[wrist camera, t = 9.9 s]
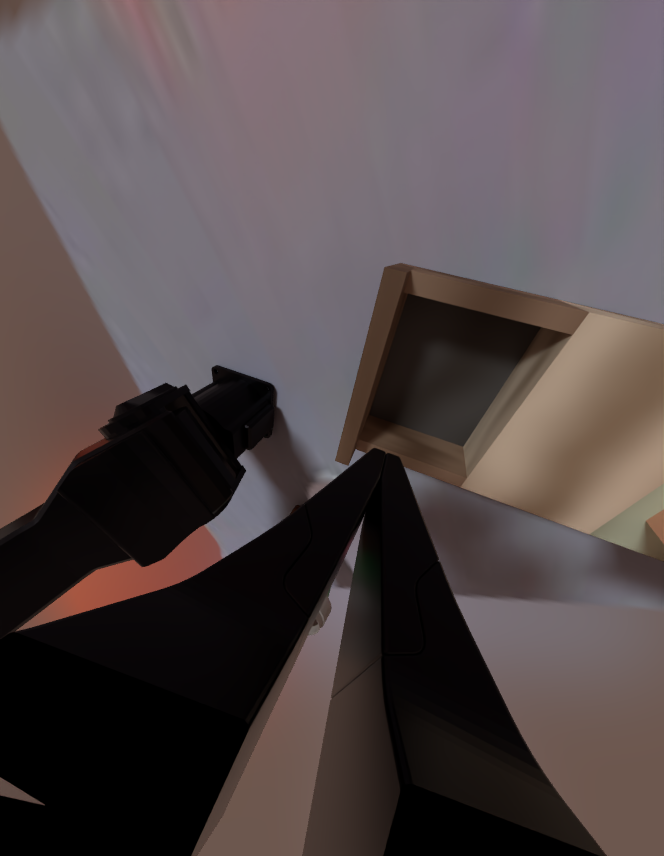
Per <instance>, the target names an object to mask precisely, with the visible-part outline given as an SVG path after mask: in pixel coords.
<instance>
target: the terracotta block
mask: <svg viewBox="0 0 664 856" xmlns="http://www.w3.org/2000/svg"><path fill="white" fill-rule="evenodd" d="M646 522H647V523H648V524H649V526H650V527H651V528H652V530H653V531H654V532H655V533H656V535H657V536H658V537H659V539H660V540H661V541H662V542H663V544H664V510H662V511H660V512H659V513H657V514H656V515H654V516H652V517H651V518H649V519H648V520H646Z"/></svg>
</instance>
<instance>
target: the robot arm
mask: <svg viewBox="0 0 664 856" xmlns="http://www.w3.org/2000/svg"><path fill="white" fill-rule="evenodd" d="M212 377H213V383H211V384H209V385H207V386H206V387H204V388H202V389H200V390H199V391H197V392H195V393H193V394H191V393H190V389H189V388H188V387H187V385H184V386H182V387H180V388H177V387H173V386H171V385H170V384H168V383H165V384H163V385H160V386H158V387H156V388H154V389H152V390H150V391H148V392H146V393H143V394H141V395H139V396H137V397H135V398H132V399H130V400H128V401H126V402H124V403H122V404H120V405H117V406H116V409H115V413H114V417H113V418H111V419H110V420H108V422H109V423H108V424H107V425H105V426H103V427H101V428H100V429H98V430H99V431H100V432H101V434H102V435H103V436H104V437H105V438H104V439H102V440H100V441H98V442H97V443H95V444H93V445H91V446H89V447H87V448H85V449H84V450H82V451H80V452H79V453H78V454H77V455H76V456H75V458H74V459H73V461H72V462H71V464H70V466H69V467H68V468H67V470H66V471H65V473H64V475H63V476H62V477H61V479H60V480H59V482H58V484H57V485H56V487H55V488H54V490H53V491H52V493H51V494H50V496H49V497H48V499H47V500H46V502H45V503H43V504H42V505H40V506H38V507H37V508H35V509H33V510H32V511H30V512H28V513H27V514H25V515H23V516H21V517H20V518H18V519H16V520H15V521H13V522H11V523H10V524H8V525H6V526H4V527H3V528H1V529H0V856H197V855H198V854H199V852H200V850H201V849H202V847H203V846H204V844H205V843H206V841H207V840H208V838H209V836H210V835H211V833H212V831H213V830H214V829H215V827H216V826H217V824H218V822H219V821H220V819H221V818H222V816H223V814H224V812H225V810H226V807H227V805H228V803H229V801H230V799H231V797H232V795H233V793H234V791H235V788H236V786H237V784H238V782H239V780H240V778H241V776H242V774H243V771H244V769H245V767H246V765H247V763H248V761H249V759H250V757H251V755H252V752H253V750H254V748H255V746H256V744H257V742H258V740H259V738H260V736H261V733H262V731H263V729H264V727H265V725H266V723H267V721H268V719H269V716H270V714H271V712H272V710H273V708H274V706H275V704H276V702H277V700H278V697H279V695H280V693H281V691H282V689H283V687H284V685H285V683H286V681H287V678H288V676H289V674H290V672H291V670H292V668H293V666H294V664H295V662H296V659H297V657H298V655H299V653H300V651H301V649H302V647H303V644H304V642H305V640H306V638H307V636H308V634H309V632H310V630H311V628H312V626H313V623H314V621H315V619H316V617H317V615H318V613H319V611H320V609H321V607H322V604H323V602H324V600H325V598H326V596H327V594H328V592H329V590H330V588H331V585H332V583H333V581H334V579H335V577H336V575H337V573H338V571H339V568H340V566H341V564H342V562H343V560H344V558H345V556H346V554H347V551H348V549H349V547H350V545H351V543H352V541H353V539H354V537H355V535H356V533H357V530H358V528H359V526H360V524H361V522H362V519H363V517H364V520H363V524H362V529H361V535H360V540H359V546H358V551H357V557H356V562H355V568H354V573H353V579H352V584H351V590H350V595H349V601H348V607H347V612H346V618H345V623H344V629H343V634H342V640H341V645H340V651H339V657H338V662H337V667H336V673H335V678H334V684H333V689H332V695H331V698H332V699H331V701H330V706H329V712H328V717H327V722H326V728H325V734H324V739H323V744H322V750H321V755H320V761H319V767H318V772H317V777H316V783H315V789H314V795H313V800H312V805H311V811H310V816H309V822H308V827H307V833H306V838H305V844H304V849H303V855H302V856H607V855H606V854H605V853H604V852H603V850H602V849H601V848H600V846H599V845H598V844H597V843H596V841H595V840H594V839H593V837H592V836H591V835H590V834H589V832H588V831H587V830H586V828H585V827H584V826H583V825H582V823H581V822H580V821H579V819H578V818H577V817H576V816H575V814H574V813H573V812H572V810H571V809H570V808H569V807H568V806H567V804H566V803H565V801H564V800H563V799H562V797H561V796H560V795H559V793H558V792H557V791H556V789H555V788H554V787H553V785H552V784H551V782H550V781H549V779H548V778H547V777H546V775H545V774H544V772H543V770H542V769H541V767H540V766H539V764H538V763H537V761H536V759H535V758H534V756H533V755H532V753H531V751H530V749H529V748H528V746H527V744H526V742H525V741H524V739H523V737H522V735H521V734H520V732H519V730H518V728H517V726H516V724H515V722H514V720H513V718H512V716H511V714H510V712H509V710H508V708H507V706H506V704H505V702H504V700H503V698H502V696H501V694H500V692H499V689H498V687H497V686H496V684H495V681H494V679H493V677H492V675H491V673H490V671H489V669H488V667H487V665H486V663H485V661H484V659H483V657H482V655H481V653H480V651H479V649H478V647H477V645H476V642H475V641H474V638H473V636H472V634H471V632H470V630H469V628H468V626H467V624H466V621H465V619H464V617H463V615H462V613H461V611H460V609H459V606H458V604H457V602H456V600H455V597H454V595H453V592H452V590H451V588H450V585H449V583H448V580H447V578H446V575H445V573H444V570H443V567H442V565H441V562H440V561H438V560H439V557H438V555H437V552H436V550H435V547H434V544H433V542H432V539H431V537H430V534H429V531H428V529H427V526H426V524H425V521H424V518H423V516H422V513H421V511H420V508H419V505H418V503H417V500H416V498H415V495H414V492H413V490H412V487H411V485H410V482H409V479H408V477H407V474H406V472H405V469H404V466H403V464H402V461H401V459H400V457H399V456H396V455H394V454H391V453H387V454H386V452H385V451H383V450H380V449H377V448H372V449H371V450H370V451H369V452H367V453H366V454H365V455H364V456H362V457H361V458H360V459H359V460H357V461H356V462H355V463H354V464H353V465H351V466H350V467H349V468H348V469H346V470H345V471H344V472H343V473H341V474H340V475H339V476H338V477H336V478H335V479H334V480H333V481H331V482H330V483H329V484H328V485H327V486H325V487H324V488H323V489H322V490H320V491H319V492H318V493H317V494H315V495H314V496H313V497H312V498H310V499H309V500H308V501H307V502H305V505H302V506H300V507H299V508H298V509H297V510H295V511H294V512H293V513H292V514H290V515H289V516H288V517H286V518H285V519H284V520H282V521H281V522H280V523H278V524H277V525H275V526H274V527H272V528H271V529H269V530H268V531H266V532H265V533H263V534H262V535H260V536H259V537H257V538H255V539H254V540H252V541H251V542H249V543H247V544H246V545H244V546H243V547H241V548H239V549H238V550H236V551H234V552H233V553H231V554H230V555H228V556H226V557H225V558H223V559H222V560H220V561H218V562H217V563H215V564H213V565H212V566H210V567H209V568H207V569H205V570H204V571H202V572H200V573H198V574H197V575H195V576H193V577H191V578H189V579H187V580H184V581H182V582H180V583H178V584H175V585H172V586H170V587H167V588H164V589H161V590H157V591H154V592H150V593H147V594H144V595H140V596H137V597H134V598H130V599H127V600H124V601H120V602H117V603H113V604H110V605H107V606H104V607H100V608H96V609H93V610H90V611H86V612H83V613H79V614H76V615H73V616H69V617H66V618H63V619H59V620H56V621H52V622H49V623H46V624H42V625H39V626H35V627H32V628H28V629H24V630H20V631H16V630H17V629H19V628H20V627H21V626H23V625H24V624H25V623H27V622H28V621H29V620H31V619H32V618H33V617H34V616H36V615H37V614H38V613H40V612H41V611H42V610H44V609H45V608H46V607H47V606H49V605H50V604H51V603H53V602H54V601H55V600H57V599H58V598H59V597H61V596H62V595H63V594H64V593H66V592H67V591H68V590H70V589H71V588H72V587H74V586H75V585H76V584H77V583H79V582H80V581H81V580H82V579H84V578H85V577H87V576H88V575H90V574H91V573H92V572H94V571H95V570H97V569H101V568H104V567H108V566H111V565H115V564H118V563H122V562H126V561H130V560H135V561H136V562H137V563H138V564H139V565H140V566H142V567H145V566H149V565H151V564H153V563H155V562H158V561H160V560H162V559H164V558H165V557H166V556H167V555H168V554H169V553H170V552H172V550H174V549H175V547H177V546H178V545H179V544H180V543H181V542H182V541H183V540H184V539H185V538H186V537H188V536H189V535H190V534H191V533H192V532H194V531H195V530H196V529H198V528H199V527H201V526H203V525H205V524H207V523H208V522H210V521H211V520H213V519H214V518H215V517H216V516H218V515H219V514H220V513H221V512H222V511H223V510H224V509H225V508H226V506H227V505H228V503H229V502H230V500H231V498H232V496H233V494H234V493H235V491H236V489H237V487H238V485H239V483H240V481H241V479H242V478H243V476H244V474H245V472H246V470H245V468H244V467H243V466H241V464H240V463H239V461H238V460H237V458H238V457H239V456H240V455H241V454H242V453H243V452H244V451H245V450H246V449H247V450H251V449H253V448H254V447H255V446H256V445H257V443H258V442H259V441H260V440H261V439H262V438H263V437H265V438H269V437H270V436H271V435H272V428H273V424H274V406H273V390H274V389H273V386H272V384H270V383H268V382H265V381H262V380H260V379H257V378H254V377H251V376H248V375H245V374H242V373H239V372H236V371H233V370H230V369H227V368H224V367H221V366H218V365H216V366H214V367H212ZM267 387H268V388H269V390H268V389H267Z"/></svg>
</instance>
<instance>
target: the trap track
mask: <svg viewBox="0 0 664 856" xmlns="http://www.w3.org/2000/svg"><path fill="white" fill-rule="evenodd" d="M372 448H377V449H380V450H383V451H385V452H386V454H387V453H391V454H394V455H396V456H399V457H400V459H401V461H402V464H403V466H404V467H406V468H409V469H412V470H414V471H417V472H420V473H423V474H425V475H428V476H431V477H434V478H436V479H439V480H442V481H445V482H447V483H450V484H453V485H455V486H458V487H461V488H464V489H466V490H469V491H472V492H475V493H477V494H480V495H483V496H486V497H488V498H491V499H494V500H496V501H499V502H502V503H505V504H507V505H510V506H513V507H516V508H518V509H521V510H524V511H527V512H529V513H532V514H535V515H538V516H540V517H543V518H546V519H548V520H551V521H554V522H557V523H559V524H562V525H565V526H568V527H570V528H573V529H576V530H579V531H581V532H584V533H587V534H590V535H592V536H595V537H598V538H600V539H603V540H606V541H609V542H611V543H614V544H617V545H620V546H622V547H625V548H628V549H631V550H633V551H636V552H639V553H642V554H644V555H647V556H650V557H652V558H655V559H658V560H661V561H663V562H664V544H663V542H662V541H661V540H660V539H659V537H658V536H657V535H656V533H655V532H654V531H653V530H652V528H651V527H650V526H649V524H648V523H647V522H646V520H648V519H649V518H651V517H652V516H654V515H656V514H657V513H659V512H660V511H662V510H664V324H660V323H656V322H652V321H648V320H643V319H639V318H635V317H630V316H626V315H622V314H617V313H613V312H609V311H605V310H600V309H596V308H592V307H587V306H583V305H579V304H574V303H570V302H566V301H562V300H557V299H553V298H549V297H544V296H540V295H536V294H531V293H527V292H523V291H519V290H514V289H510V288H506V287H501V286H497V285H493V284H488V283H484V282H480V281H476V280H471V279H467V278H463V277H458V276H454V275H450V274H446V273H441V272H437V271H433V270H428V269H424V268H420V267H415V266H411V265H407V264H403V263H399V264H395V265H391V266H387V267H385V268H384V271H383V275H382V279H381V283H380V287H379V291H378V295H377V299H376V303H375V307H374V311H373V315H372V318H371V322H370V326H369V330H368V334H367V338H366V342H365V346H364V350H363V354H362V358H361V362H360V365H359V369H358V373H357V377H356V381H355V385H354V389H353V393H352V397H351V401H350V405H349V409H348V412H347V416H346V420H345V424H344V428H343V432H342V436H341V440H340V444H339V448H338V452H337V456H336V459H335V461H337V462H340V463H342V464H345V465H349V463H350V461H351V458H352V456H353V454H354V451H355V449H357V450H360V451H362V452H365V453H367V452H369V451H370V450H371V449H372Z"/></svg>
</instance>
